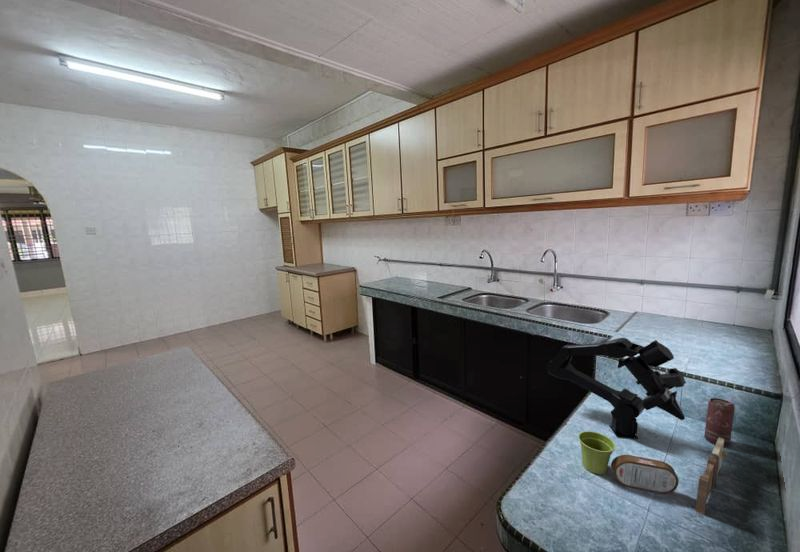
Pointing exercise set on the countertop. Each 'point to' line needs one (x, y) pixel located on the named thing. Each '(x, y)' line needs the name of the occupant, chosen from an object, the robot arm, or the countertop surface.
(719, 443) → the panel
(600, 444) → the plant pot
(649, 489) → the tin
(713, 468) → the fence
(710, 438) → the can
